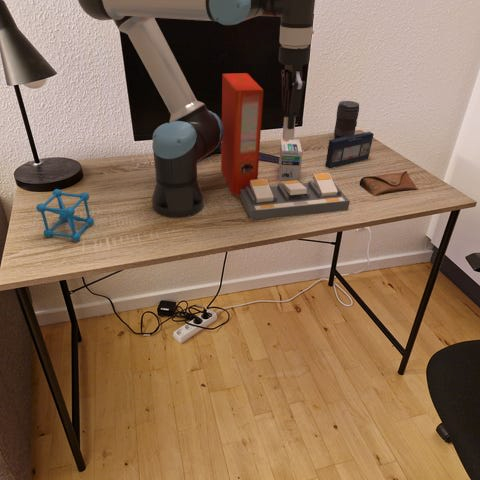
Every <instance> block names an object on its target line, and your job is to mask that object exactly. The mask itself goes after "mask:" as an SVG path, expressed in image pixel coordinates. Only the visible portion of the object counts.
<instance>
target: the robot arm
mask: <svg viewBox="0 0 480 480" xmlns="http://www.w3.org/2000/svg"><path fill="white" fill-rule="evenodd" d="M77 2H78V4H79V6H80V7H81V9H82V10H83V11H84V13H85V14H86V15H88V16H89V17H91V18H92V19H95V20H98V21H111V20H112V21H113V22H114V24H115V26H116V27H117V29H118V31H120V32H121V33H125V34H126V35H128V38H129V40H130V42H131V43H132V45H133V47H134V49H135V50H136V53H137V54H138V56H139V58H140V59H141V62H142V64H143V65H144V67H145V69H146V71H147V73H148V74H149V77H150V79H151V81H152V82H153V84H154V86H155V87H156V90H157V91H158V93H159V95H160V96H161V98H162V100H163V102H164V104H165V106H166V107H167V109H168V112H169V113H170V118H169V122H165V123H163V124H161V125H159V126H157V128H156V129H154V131H153V133H152V145H151V146H152V150H153V151H152V153H153V160H154V169H155V170H154V171H155V180H156V182H155V185H154V191H153V194H152V196H151V197H152V198H151V205H152V208H153V211H154V212H155V213H157V214H158V215H161V216H163V217H166V218H173V219H175V218H176V219H177V218H179V219H181V218H186V217H190V216H193V215H196V214H197V213H199V212H201V210H203V208H204V205H205V203H204V202H205V201H204V200H205V198H204V194H203V191H202V189H201V186H200V184H199V181H198V163H199V162H200V161H202V160H203V159H204V158H205V157H207V156H209V154H211V153H213V152H214V151H215V150H216V149H217V148H218V147H219V146H220V144H221V143H222V139H223V135H224V129H223V125H222V119H221V118H220V117H219V116H218V115H217V114H216V113H215V112H212V111H211V110H209V109H208V108H207V106H206V104H205V103H204V102H202V101H199V100H197V98H196V96H195V94H194V92H193V90H192V89H191V87H190V84H189V83H188V81H187V78H186V77H185V75H184V73H183V71H182V69H181V67H180V64H179V63H178V62H177V59H176V57H175V55H174V53H173V51H172V50H171V48H170V46H169V44H168V42H167V40H166V38H165V36H164V34H163V32H162V31H161V28H160V27H159V25H158V22H157V21H156V18H157V19H158V18H159V19H176V20H189V21H191V20H193V21H210V22H218V23H219V24H221V25H223V26H233V25H234V26H235V25H238V24H240V23H242V22H244V21H248V20H250V19H253V18H256V17H259V16H260V17H275V18H276V17H277V18H278V17H280V26H279V44H280V46H279V47H278V48H279V50H278V62H279V63H280V64H281V65H284V69H281V71H280V75H281V109H282V110H283V127H282V129H283V130H282V139H284V140H294V139H295V129H296V117H299V116H300V110H301V106H302V99H303V93H304V89H305V87H306V81H305V80H303V78H304V73H303V68H302V67H303V66H304V65H307V64H309V62H310V59H311V57H310V56H311V47H310V45H311V43H312V35H313V34H314V33H315V32H314V29H313V23H314V15H315V6H316V5H315V4H316V3H315V2H316V0H77Z"/></svg>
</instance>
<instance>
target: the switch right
mask: <svg viewBox="0 0 480 480" xmlns="http://www.w3.org/2000/svg"><path fill="white" fill-rule="evenodd" d="M312 180H313V182H315V185H316V187H317V189H318V190H319V191H320V193H321V197H324V196H334V195H337V193H338V191H337V189H336V187H335V184H336V183H335V182H334V180H333V178H332V176H331V174H330V172H324V173H323V172H322V173H314V174H313V176H312ZM334 183H335V184H334Z"/></svg>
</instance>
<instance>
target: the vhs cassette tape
mask: <svg viewBox="0 0 480 480" xmlns="http://www.w3.org/2000/svg"><path fill="white" fill-rule="evenodd" d="M373 140H374V133H373V132H371V131H366V132H361V133H357V134H354V135H351V136H346V137H342V138H338V139H335V138H334V139H329V140H328V145H327V146H328V147H327V151H326V152H327V154H326V159H325V163H324V165H325V167H326V168H327V169H330V168H331V169H333V168H334V167H335V168H338V167H344V166H347V165H351V164H356V163H359V162H362V161H368V160H369V157H370V153H371V149H372V144H373Z"/></svg>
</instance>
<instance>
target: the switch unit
mask: <svg viewBox="0 0 480 480" xmlns="http://www.w3.org/2000/svg"><path fill="white" fill-rule="evenodd" d="M299 182H300V183H301V184H302V185H303V186H305V187H306V188H307V194H297V195H290V194H289V193H287V192H286V191H285V190H284V189H283V187H282V186H281V184H282V183H277V185H271V184H269V186H270V189H271V191H272V194H273V196H274V198H273V201H269V202H259V203H256V200H255V197H254V195H253V192H252V189H251V188H249V187H246V189H240V195H239V199H240V200H241V203H242V204H243V206H244V208H245V211H246V213H247V215H248V217H249V220H250V221H256V220H257V221H258V220H267V219H274V218H275V219H276V218H284V217H294V216H302V215H303V216H304V215H311V214H312V215H313V214H319V213H320V214H321V213H322V214H323V213H330V212H331V213H332V212H338V211H339V212H341V211H347V210H349V207H350V201H351V200H349V198H348V197H347V196H346V195H345V194H344V193H343V191H342V190H341V189H340V188H339V186H338V185H337V184H336V183H335V182H334V184H335V187H336V189H337V191H338V193H337V195H334V196H324V197H321V193H320V191H319V190H318V189H317V187H316V185H315V182H314V181H312V180H308V181H307V182H305V183H302V182H301V181H299Z"/></svg>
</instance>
